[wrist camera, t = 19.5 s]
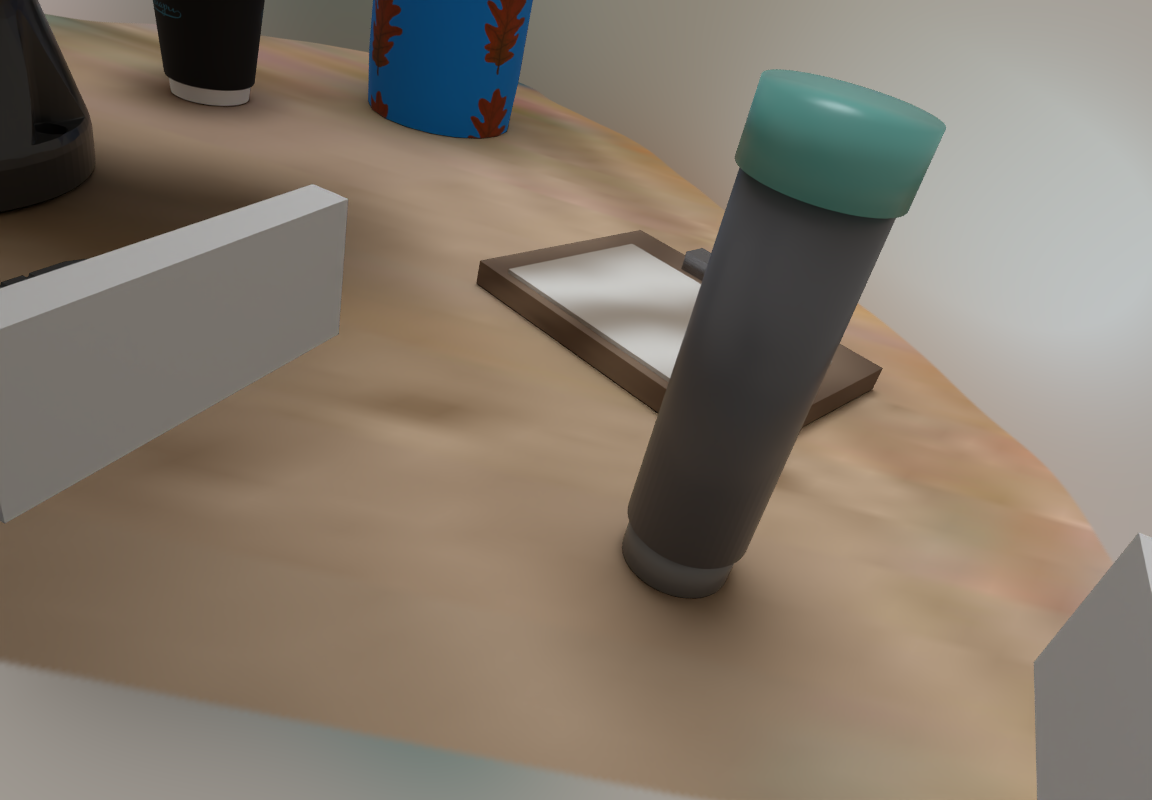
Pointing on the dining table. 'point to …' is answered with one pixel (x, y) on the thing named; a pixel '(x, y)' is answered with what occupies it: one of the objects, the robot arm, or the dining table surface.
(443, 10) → the thermos
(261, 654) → the dining table surface
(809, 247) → the marker
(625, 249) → the brown picture frame
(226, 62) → the dixie cup
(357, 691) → the dining table surface
